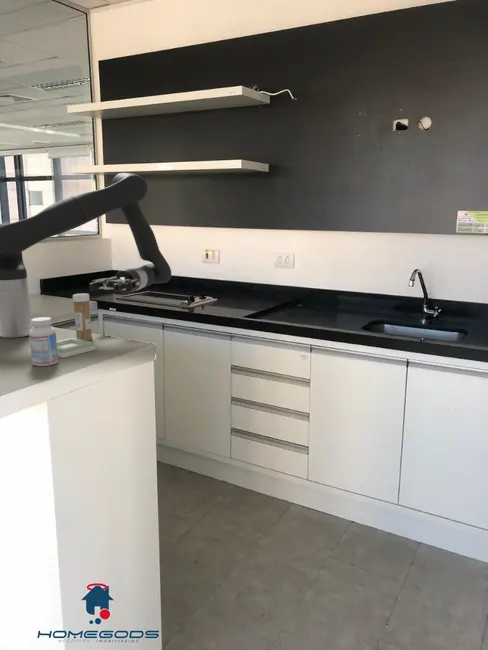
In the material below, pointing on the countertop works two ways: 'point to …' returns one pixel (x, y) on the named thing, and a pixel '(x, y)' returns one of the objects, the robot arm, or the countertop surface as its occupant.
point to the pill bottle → (43, 342)
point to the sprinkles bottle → (82, 316)
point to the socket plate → (73, 347)
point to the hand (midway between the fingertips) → (102, 287)
